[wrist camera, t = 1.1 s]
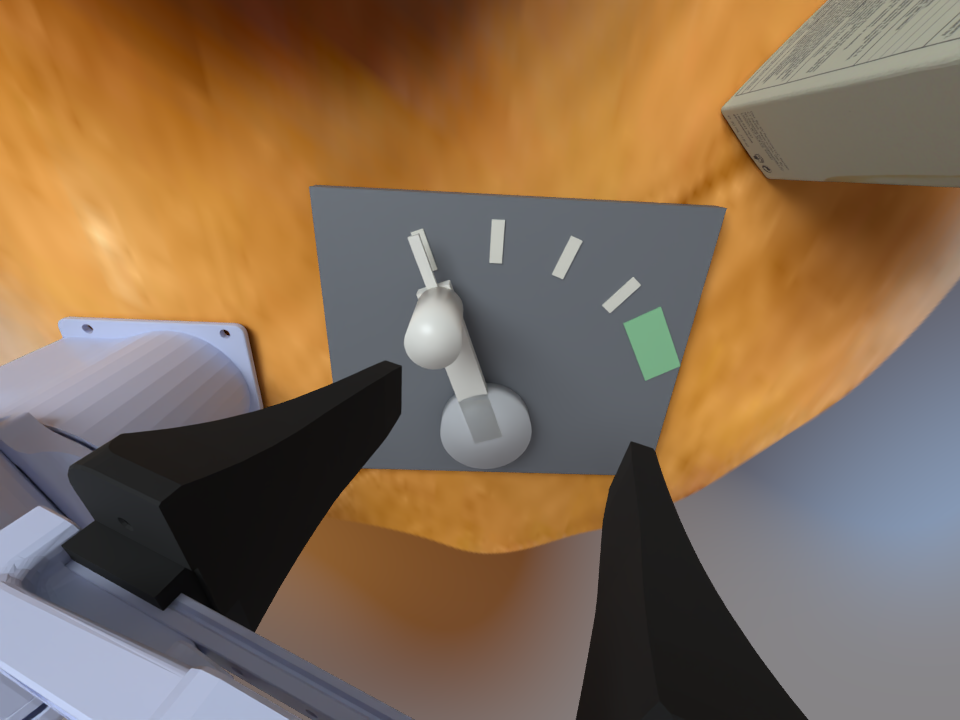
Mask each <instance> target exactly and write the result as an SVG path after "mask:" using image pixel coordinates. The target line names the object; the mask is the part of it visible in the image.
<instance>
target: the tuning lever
mask: <svg viewBox="0 0 960 720" xmlns="http://www.w3.org/2000/svg"><path fill="white" fill-rule="evenodd" d="M408 241H409V243H410V246H411V249H412V251H413V254H414V257H415V259H416V262H417V264H418V267H419V270H420V272H421V275H422V278H423V280H424V283H425V286H426V287H425V288H422V289H418V292H417V294H416V295H417V298H418V301H417V304H416V307H415V310H414V312H413V315H412V318H411V320H410V323H409V326H408V329H407V331H406V334H405V338H404V347H405V350H406V353H407V355H408V356H409V358H410V359H411V360H412V361H413V362H414V363H416V364H417V365H419V366H421V367H423V368H426V369H442V368H445V369H446V372H447V374H448V377H449V379H450V382H451V384H452V387H453V390H454V392H455V394H454V395H453V396H452V397H451V398H450V399H449V400H448V402H447V403H446V405H445V407H444V410H443V413H442V420H441V429H440V436H441V441H442V444H443V446H444V448H445V450H446V451H447V452H448V454H449V455H450V456H451V457H452V458H454V459H455V460H456V461H458V462H460V463H461V464H464V465H466V466H469V467H472V468H478V469H493V468H498V467H501V466H504V465H507V464H509V463H511V462H513V461H514V460H516V459H517V458H518V457H519V456H520V455H522V453H523V452H524V451H525V450H526V448H527V446H528V444H529V442H530V439H531V433H532V429H531V423H530V418H529V413H528V409H527V407H526V404H525V403H524V401H523V400H522V398H521V397H520V396H519V395H518V394H517V393H516V392H514V391H513V390H511V389H509V388H507V387H505V386H502V385H499V384H494V383H486V382H485V379H484V376H483V373H482V370H481V368H480V365H479V362H478V359H477V356H476V353H475V350H474V347H473V345H472V342H471V339H470V336H469V333H468V330H467V327H466V324H465V322H464V319H463V304H462V301H461V299H460V297H459V296H458V295H457V294H456V293H455V292H454V290H453V287H452V284H451V281H450V280H447V281H444V282H441V283H438V284H437V281H436V278H435V276H434V273H433V270H432V267H431V265H430V262H429V259H428V256H427V254H426V251H425V248H424V245H423V243H422V240H421V237H420V234H419V233H418V234H415V235H412V236H409V237H408Z"/></svg>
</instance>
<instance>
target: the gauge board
mask: <svg viewBox="0 0 960 720" xmlns="http://www.w3.org/2000/svg"><path fill="white" fill-rule="evenodd" d="M309 189H310V197H311V206H312V214H313V222H314V230H315V238H316V246H317V255H318V263H319V271H320V279H321V287H322V296H323V304H324V312H325V320H326V328H327V337H328V345H329V353H330V361H331V369H332V378H333V383H335V382H337V381H339V380H341V379H344V378H346V377H348V376H350V375H353V374H355V373H357V372H359V371H361V370H364V369H366V368H368V367H370V366H373V365H375V364H377V363H380V362H382V361H385V360H386V361H389V362H392V363H395V364H398V365H401V366H402V409H401V415H400V417H399V419H398V420H397V422H396V424H395V425H394V427H393V428H392V430H391V432H390V433H389V435H388V436H387V438H386V439H385V440H384V442H383V443H382V444H381V445H380V447H379V448H378V449H377V450H376V451H375V453H374V454H373V455H372V456H371V458H370V459H369V460H368V461H367V462H366V464H365V465H364V466H363V467H362V468H371V469H408V470H446V471H484V472H521V473H559V474H597V475H616V473H617V470H618V468H619V466H620V464H621V462H622V459H623V457H624V455H625V453H626V451H627V448H628V446H629V444H630V442H631V441H632V442H636V443H639V444H642V445H645V446H648V447H651V448H653V449H654V451H655V449H656V446H657V442H658V439H659V436H660V432H661V429H662V426H663V422H664V419H665V415H666V412H667V409H668V405H669V402H670V398H671V395H672V392H673V388H674V385H675V381H676V378H677V375H678V371H679V368H680V366H681V361H682V358H683V354H684V351H685V348H686V344H687V341H688V337H689V334H690V331H691V327H692V324H693V321H694V317H695V314H696V310H697V307H698V304H699V300H700V297H701V293H702V290H703V287H704V283H705V280H706V276H707V273H708V270H709V266H710V263H711V260H712V256H713V253H714V249H715V246H716V243H717V239H718V236H719V232H720V229H721V226H722V222H723V219H724V215H725V212H726V209H727V208H723V207H719V206H710V205H691V204H672V203H652V202H633V201H614V200H595V199H575V198H556V197H537V196H518V195H498V194H479V193H460V192H441V191H421V190H402V189H383V188H363V187H344V186H325V185H315V186H310V187H309ZM418 233H419V234H420V237H421V240H422V243H423V245H424V248H425V251H426V254H427V256H428V259H429V262H430V265H431V267H432V270H433V273H434V276H435V278H436V281H437V284H438V283H441V282H444V281H447V280H450V281H451V284H452V287H453V290H454V292H455V293H456V294H457V295H458V296H459V297H460V299H461V301H462V304H463V319H464V322H465V324H466V327H467V330H468V333H469V336H470V339H471V342H472V345H473V347H474V350H475V353H476V356H477V359H478V362H479V365H480V368H481V370H482V373H483V376H484V379H485V382H486V383H494V384H499V385H502V386H505V387H507V388H509V389H511V390H513V391H514V392H516V393H517V394H518V395H519V396H520V397H521V398H522V400H523V401H524V403H525V404H526V407H527V409H528V413H529V418H530V423H531V429H532V433H531V439H530V442H529V444H528V446H527V448H526V450H525V451H524V452H523V453H522V455H520V456H519V457H518V458H517V459H516V460H514V461H513V462H511V463H509V464H507V465H504V466H501V467H498V468H493V469H478V468H472V467H469V466H466V465H464V464H461V463H460V462H458V461H456V460H455V459H454V458H452V457H451V456H450V455H449V454H448V452H447V451H446V450H445V448H444V446H443V444H442V441H441V436H440V429H441V420H442V413H443V410H444V407H445V405H446V403H447V402H448V400H449V399H450V398H451V397H452V396H453V395H454V394H455V392H454V390H453V387H452V384H451V382H450V379H449V377H448V374H447V372H446V369H445V368H442V369H426V368H423V367H421V366H419V365H417V364H416V363H414V362H413V361H412V360H411V359H410V358H409V356H408V355H407V353H406V350H405V347H404V338H405V334H406V331H407V329H408V326H409V323H410V320H411V318H412V315H413V312H414V310H415V307H416V304H417V301H418V298H417V295H416V294H417V292H418V289H422V288H425V287H426V286H425V283H424V280H423V278H422V275H421V272H420V270H419V267H418V264H417V262H416V259H415V257H414V254H413V251H412V249H411V246H410V243H409V241H408V237H409V236H412V235H415V234H418Z"/></svg>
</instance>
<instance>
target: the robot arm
mask: <svg viewBox="0 0 960 720" xmlns="http://www.w3.org/2000/svg"><path fill="white" fill-rule="evenodd" d="M89 325H90V326H91V327H92V328H93V330H92V329H91V328H90V327H89ZM58 327H59V329H60V332H61V334H62V336H63V338H62V339H60V340H58V341H56V342H53V343H51V344H49V345H47V346H44V347H42V348H40V349H38V350H36V351H33V352H31V353H29V354H27V355H24V356H22V357H20V358H18V359H16V360H13V361H11V362H9V363H7V364H5V365H2V366H0V720H61V719H63V718H64V717H65V718H66V719H68V720H302V719H301V718H299V717H297V716H296V715H294V714H292V713H290V712H289V711H287V710H285V709H283V708H282V707H280V706H278V705H277V704H275V703H273V702H271V701H270V700H268V699H266V698H265V697H263V696H261V695H260V694H258V693H256V692H254V691H253V690H251V689H249V688H247V687H246V686H244V685H242V684H241V683H239V682H237V681H236V680H234V678H233V676H232V675H230V674H229V673H228V672H226V671H225V670H224V669H226V670H227V671H229V672H231V673H233V674H234V675H236V676H238V677H239V678H241V679H243V680H245V681H246V682H248V683H250V684H252V685H253V686H255V687H257V688H258V689H260V690H262V691H264V692H265V693H267V694H269V695H270V696H272V697H274V698H276V699H277V700H279V701H281V702H283V703H285V704H286V705H288V706H289V707H291V708H293V709H295V710H296V711H298V712H300V713H302V714H303V715H305V716H307V717H308V718H310V719H312V720H414V719H413V718H411V717H409V716H407V715H405V714H403V713H402V712H400V711H398V710H396V709H394V708H392V707H390V706H388V705H387V704H385V703H383V702H381V701H379V700H378V699H376V698H374V697H372V696H370V695H368V694H366V693H365V692H363V691H361V690H359V689H357V688H356V687H354V686H352V685H350V684H348V683H346V682H345V681H342V680H341V679H339V678H337V677H335V676H333V675H332V674H330V673H328V672H326V671H324V670H322V669H321V668H319V667H317V666H315V665H313V664H311V663H309V662H308V661H306V660H304V659H302V658H300V657H298V656H297V655H295V654H293V653H291V652H289V651H287V650H286V649H284V648H282V647H280V646H278V645H276V644H274V643H272V642H271V641H269V640H267V639H265V638H264V637H262V636H260V635H258V634H256V633H255V631H256V629H257V627H258V625H259V623H260V622H261V620H262V618H263V616H264V614H265V613H266V611H267V609H268V607H269V606H270V604H271V602H272V600H273V598H274V597H275V595H276V593H277V591H278V589H279V588H280V586H281V584H282V583H283V581H284V579H285V578H286V576H287V574H288V573H289V571H290V569H291V568H292V566H293V564H294V563H295V561H296V559H297V558H298V556H299V555H300V553H301V551H302V550H303V548H304V547H305V545H306V543H307V542H308V540H309V539H310V537H311V536H312V534H313V533H314V531H315V530H316V528H317V526H318V525H319V524H320V522H321V521H322V519H323V518H324V516H325V515H326V513H327V512H328V510H329V509H330V507H331V506H332V504H333V503H334V501H335V500H336V499H337V498H338V496H339V495H340V494H341V492H342V491H343V490H344V489H345V487H346V486H347V485H348V484H349V483H350V481H351V480H352V479H353V478H354V477H355V475H356V474H357V473H358V472H359V471H360V469H361V468H362V467H363V466H364V465H365V464H366V462H367V461H368V460H369V459H370V458H371V456H372V455H373V454H374V453H375V451H376V450H377V449H378V448H379V447H380V445H381V444H382V443H383V442H384V440H385V439H386V438H387V436H388V435H389V433H390V432H391V430H392V428H393V427H394V425H395V424H396V422H397V420H398V419H399V417H400V415H401V409H402V366H401V365H398V364H395V363H392V362H389V361H386V360H385V361H382V362H380V363H377V364H375V365H373V366H370V367H368V368H366V369H364V370H361V371H359V372H357V373H355V374H353V375H350V376H348V377H346V378H344V379H341V380H339V381H337V382H335V383H332V384H330V385H328V386H325V387H323V388H320V389H318V390H315V391H313V392H310V393H308V394H305V395H302V396H300V397H297V398H295V399H292V400H289V401H286V402H283V403H280V404H277V405H274V406H270V407H267V408H263V403H262V398H261V394H260V389H259V384H258V380H257V375H256V370H255V366H254V361H253V356H252V352H251V347H250V342H249V337H248V333H247V330H246V328H245V327H244V326H242V325H241V324H237V323H219V322H193V321H168V320H142V319H117V318H92V317H66V318H63V319H61V320H60V321H59V322H58ZM224 330H227V331H228V332H229V333H230V336H229V335H226V334H225V333H224ZM221 667H222V668H224V669H222V668H221ZM576 720H808V719H807V717H806V716H805V715H804V714H803V713H802V711H801V710H800V709H799V708H798V706H797V705H796V704H795V703H794V702H793V700H792V699H791V698H790V697H789V695H788V694H787V693H786V692H785V690H784V689H783V688H782V686H781V685H780V684H779V682H778V681H777V680H776V678H775V677H774V676H773V674H772V673H771V672H770V670H769V669H768V668H767V666H766V665H765V664H764V662H763V661H762V660H761V658H760V657H759V655H758V654H757V653H756V651H755V650H754V648H753V647H752V646H751V644H750V643H749V641H748V639H747V638H746V636H745V635H744V633H743V632H742V630H741V629H740V628H739V626H738V625H737V623H736V621H735V620H734V619H733V617H732V616H731V614H730V613H729V611H728V609H727V608H726V606H725V605H724V603H723V601H722V600H721V598H720V596H719V595H718V593H717V591H716V590H715V588H714V586H713V584H712V583H711V581H710V579H709V577H708V576H707V574H706V572H705V570H704V568H703V566H702V564H701V563H700V561H699V559H698V557H697V555H696V553H695V551H694V549H693V547H692V545H691V543H690V540H689V538H688V536H687V534H686V532H685V530H684V528H683V525H682V523H681V521H680V519H679V516H678V514H677V511H676V509H675V506H674V504H673V501H672V499H671V496H670V494H669V491H668V488H667V486H666V483H665V480H664V477H663V474H662V471H661V468H660V465H659V462H658V459H657V455H656V452H655V451H654V449H653V448H651V447H648V446H645V445H642V444H639V443H636V442H632V441H631V442H630V444H629V446H628V448H627V451H626V453H625V455H624V457H623V459H622V462H621V464H620V466H619V468H618V470H617V473H616V475H615V477H614V479H613V482H612V484H611V486H610V488H609V493H608V498H607V503H606V508H605V513H604V518H603V527H602V539H601V553H600V566H599V580H598V594H597V604H596V613H595V619H594V625H593V630H592V636H591V642H590V648H589V653H588V659H587V664H586V670H585V675H584V680H583V686H582V691H581V696H580V701H579V706H578V711H577V716H576Z"/></svg>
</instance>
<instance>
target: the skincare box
mask: <svg viewBox="0 0 960 720" xmlns="http://www.w3.org/2000/svg"><path fill="white" fill-rule="evenodd" d="M721 112H722V114H723V115H724V117H725V118H726V120H727V121H728V123H729V125H730V126H731V128H732V129H733V131H734V133H735V134H736V136H737V137H738V139H739V140H740V142H741V143H742V145H743V146H744V148H745V149H746V151H747V152H748V153H749V155H750V156H751V158H752V159H753V160H754V162H755V163H756V164H757V166H758V167H759V168H760V170H761V171H762V172H763V174H764V175H765V176H766V177H767V178H769V179H784V180H803V181H828V182H851V183H871V184H892V185H915V186H935V187H960V0H828V1H827V2H826V3H824V4H823V5H822V6H821V7H820V8H819V9H818V10H817V11H816V12H815V13H814V14H813V15H812V16H811V17H810V18H809V19H808V20H807V21H806V22H805V23H804V24H803V25H802V26H801V27H800V28H799V29H798V30H797V31H796V32H795V33H794V34H793V35H792V36H791V37H790V38H789V39H788V40H787V41H786V42H785V43H784V44H783V45H782V46H781V47H780V48H779V49H778V50H777V51H776V52H775V53H774V54H773V55H772V56H771V57H770V58H769V59H768V60H767V61H766V62H765V63H764V64H763V65H762V66H761V67H760V68H759V69H758V70H757V71H756V72H755V73H754V74H753V75H752V76H751V77H750V78H749V80H748V81H747V82H746V83H745V84H744V85H743V86H742V87H741V88H740V89H739V90H738V91H737V92H736V93H735V94H734V95H733V96H732V98H731V99H730V100H729V101H728V102H727V103H726V104H725V105H724V106H723V107H722V109H721Z"/></svg>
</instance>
